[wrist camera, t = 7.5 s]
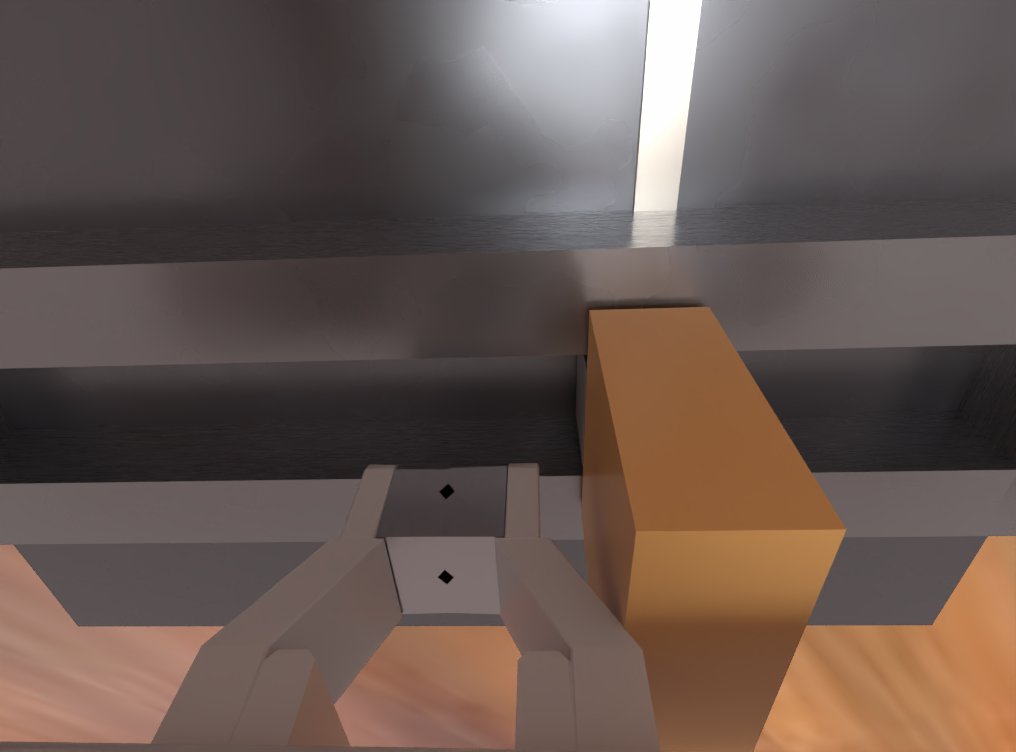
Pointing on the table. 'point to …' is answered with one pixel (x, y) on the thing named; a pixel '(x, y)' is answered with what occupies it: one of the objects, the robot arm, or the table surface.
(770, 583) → the block
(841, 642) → the table surface
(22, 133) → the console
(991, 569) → the table surface
